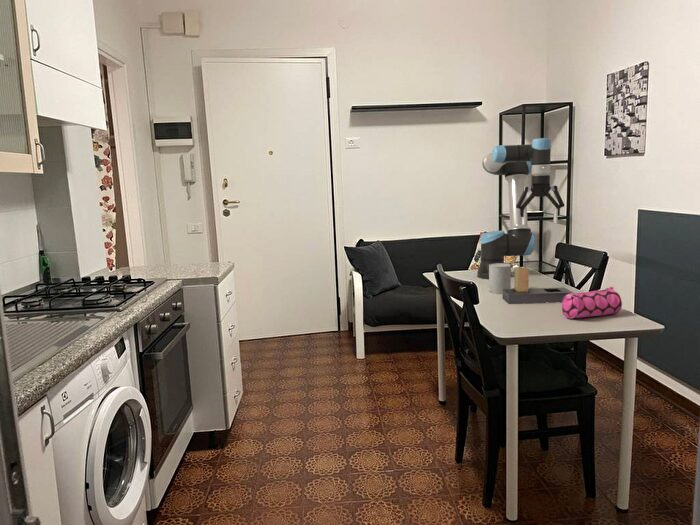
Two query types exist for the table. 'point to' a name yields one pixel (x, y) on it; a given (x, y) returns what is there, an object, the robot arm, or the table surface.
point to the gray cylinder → (499, 277)
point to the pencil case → (591, 303)
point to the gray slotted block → (535, 295)
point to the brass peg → (521, 280)
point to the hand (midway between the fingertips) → (539, 224)
